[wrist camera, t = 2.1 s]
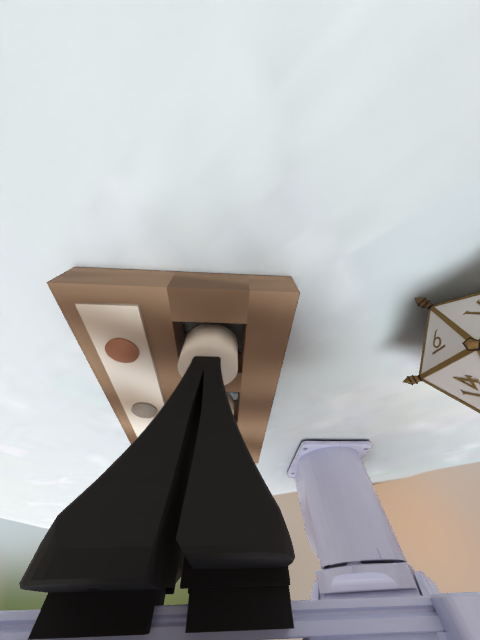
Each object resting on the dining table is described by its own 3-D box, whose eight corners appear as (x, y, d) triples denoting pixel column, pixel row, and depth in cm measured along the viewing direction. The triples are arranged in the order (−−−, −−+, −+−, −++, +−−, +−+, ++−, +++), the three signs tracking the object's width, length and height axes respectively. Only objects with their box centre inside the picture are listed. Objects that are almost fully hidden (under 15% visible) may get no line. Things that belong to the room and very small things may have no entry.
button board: (256, 442, 23) (258, 467, 21) (147, 442, 23) (139, 467, 21) (291, 276, 12) (301, 296, 10) (74, 267, 11) (40, 285, 9)
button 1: (236, 362, 14) (236, 388, 12) (187, 361, 13) (181, 387, 12) (238, 324, 12) (239, 347, 10) (182, 322, 12) (173, 346, 10)
